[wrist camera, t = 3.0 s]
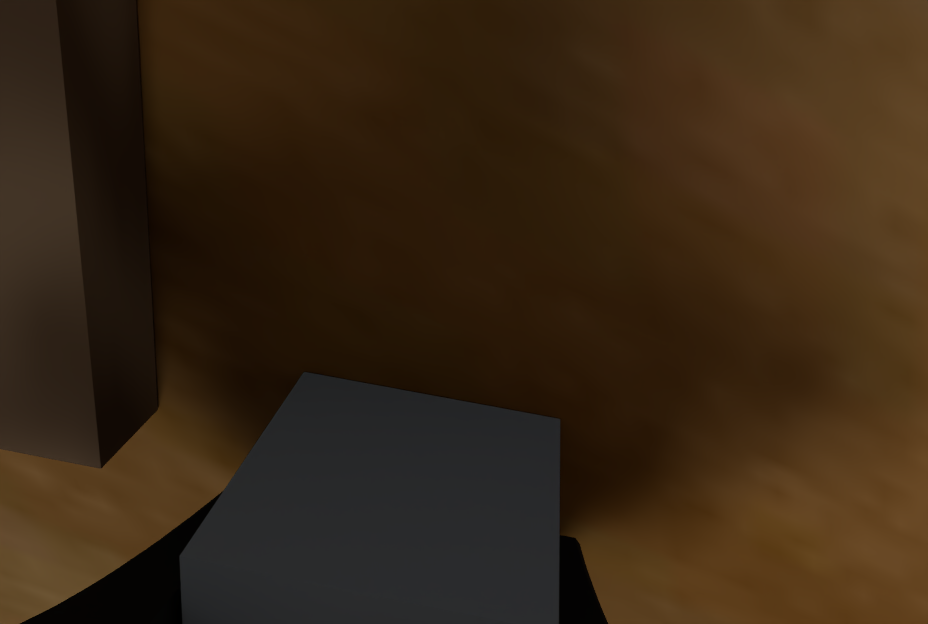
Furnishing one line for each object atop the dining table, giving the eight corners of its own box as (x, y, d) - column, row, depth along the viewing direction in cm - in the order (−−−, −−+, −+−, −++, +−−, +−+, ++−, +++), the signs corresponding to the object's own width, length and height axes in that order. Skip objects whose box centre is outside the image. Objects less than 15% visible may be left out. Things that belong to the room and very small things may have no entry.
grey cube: (516, 609, 16) (498, 860, 11) (294, 565, 16) (189, 791, 12) (560, 418, 14) (558, 632, 9) (304, 372, 14) (179, 556, 9)
